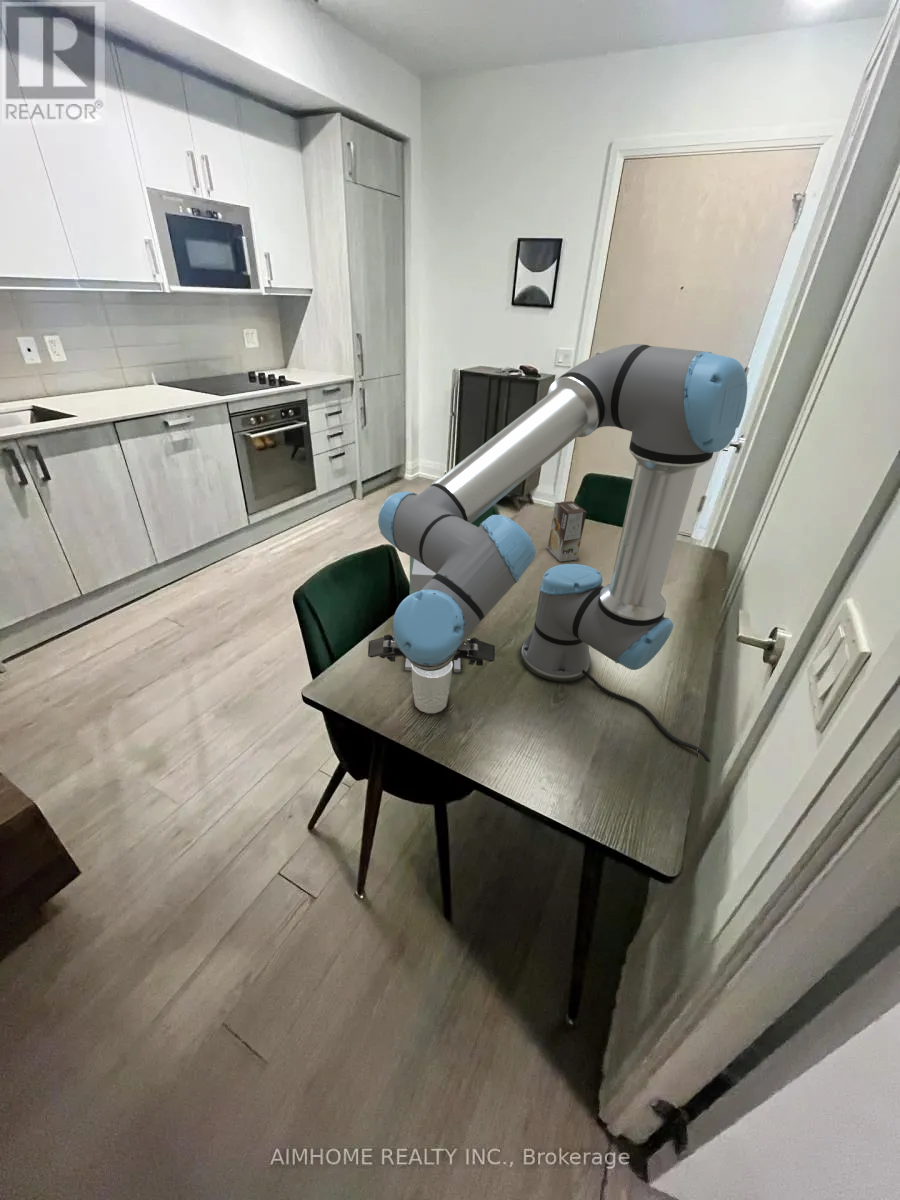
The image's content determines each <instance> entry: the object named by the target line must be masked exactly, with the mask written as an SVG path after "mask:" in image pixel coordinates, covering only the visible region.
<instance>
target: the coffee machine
mask: <svg viewBox="0 0 900 1200" xmlns="http://www.w3.org/2000/svg"><path fill="white" fill-rule="evenodd" d="M435 574H436V573H435V572H433V571H432V570H430V569H429V568H427V567H426V566H425V565H424V564H422V563H420V562H419V561H417V560H416V559H414V558H412V557H411V556H409V595H411V594H412V593H415V592H418V591H421V590H422V589H423V588H424V587H425V586H426V584H427V583H428V582H429V581H430V580H431V579H432V578H433V577H434V576H435ZM404 671H411V672H412V669H411V662H410V661H409V660H408V659H407V658H405V665H404ZM453 673H461V659H460V658H458V660H453Z"/></svg>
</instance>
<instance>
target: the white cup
mask: <svg viewBox="0 0 900 1200" xmlns="http://www.w3.org/2000/svg"><path fill="white" fill-rule="evenodd" d="M453 668H454V662H453V660H452V661H451V662H450V663H449V664H448V665H447V666H445V667H444V668H442V669H439V670H436V671H425V670H421V669H419V668H417V667H415V666H414V665H413V664H412V663H411V669H412V670H411V683H412V695H413V703H414V706H415V707H416V708H417V710H419V711H420V712H422V713H425V714H436V713H439V712H442V711H443V710H444V709H445V708H446V707H447V705H448V701H449V695H450V688H451V682H452V674H453Z"/></svg>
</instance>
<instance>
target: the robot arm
mask: <svg viewBox="0 0 900 1200" xmlns="http://www.w3.org/2000/svg"><path fill="white" fill-rule="evenodd" d="M747 378H748V377H747V375H746V371H745V368H744V366H743V365H742V363H740V361H738V360H737V359H735V358H734V357H731V356H726V355H720V354H716V353H713V352H712V351H703V350H694V349H692V350H691V349H685V348H673V347H665V346H655V345H649V344H642V343H632V344H624V345H620V346H616V347H613V348H610V349H608V350H605V351H602V352H599V353H598V354H595V355H593V356H591V357H589V358H587V359H586V360H584V361H582V362H580V363H578V364H577V365H575V366H573V367H571V369H569V370H568V371H566V372H565V373H564V374H562V375H560V376H559V377H558V378H556V379H555V380H554V381H553V382H552V383H551V384H550V386H549V388H548V391H547V395H546V396H544V397H543V398H542V399H541V400H539V401H538V402H536V403H535V404H534V405H532V406H531V407H530V408H528V409H527V410H526V411H525V412H524V413H522V414H521V415H520V416H518V417H517V418H515V420H513V421H512V422H510V423H509V424H508V425H507V426H505V427H504V428H503V429H501V430H500V431H499V432H498V433H496V434H495V435H494V436H493V437H491V438H490V439H489V440H487V441H486V442H485V443H483V444H482V445H481V446H480V447H479V448H476V450H474V451H473V452H472V453H471V454H469V455H468V456H466V458H464V459H462V460H461V461H460V462H459V463H458V464H456V465H455V466H454V467H452V468H451V469H450V470H448V471H447V472H446V473H445V474H444V475H442V476H441V477H439V478H438V479H437V480H435V481H434V482H433V483H432V484H431V485H429V486H428V487H427V488H425V489H424V490H422V491H421V492H420V493H418V494H417V493H415V492H410V491H399V492H395V493H393V494H391V495H390V496H389V497H387V498H386V500H384V502H383V504H382V505H381V508H380V510H379V512H378V519H377V523H378V529H379V531H380V534H381V535H382V536H383V538H384V539H385V540H386V541H388V543H390V544H391V545H392V546H394V548H396V549H397V550H398V551H399V552H400V553H402V554H403V553H404V554H406V555H407V556H409V557H410V556H411V557H412V558H414V559H416V560H417V561H419V562H420V563H422V564H424V565H425V566H426V567H427V568H429V569H430V570H432V571H433V572H435V573H436V574H435V576H434V577H433V578H432V579H431V580H430V581H429V582H428V583H427V584H426V586H425V587H424V588H423V589H422V590H421V591H418V592H415V593H412V594H411V595H410V594H409V595H407V596H406V597H405V598H404V599H403V600H401V602H400V603H399V604H398V607H397V608H396V610H395V612H394V615H393V620H392V633H393V635H391V634H384V635H383V636H381V637H379V638H375V639H371V640H368V645H367V647H368V648H367V657H369V658H376V657H379V658H381V659H387V660H389V662H392V663H395V662H396V658H397V657H403V658H404V659H406V658H407V659H408V660H409V661H410V662H411V663H412V664H413V665H414V666H415V667H417V668H419V669H421V670H425V671H436V670H439V669H442V668H444V667H445V666H447V665H448V664H449V663H450V662H451V661H452V662H453V661H454V660H458V658H460V660H467V661H468V665H470V666H473V665H474V664H475V666H476V667H477V666H479V667H482V666H484V661H486V662H489V663H493V662H495V661H496V659H495V658H496V645H493V644H491V643H487V642H485V641H482V640H480V639H479V638H476V637H471V638H469V639H468V637H469V636H470V635H471V634H472V633H473V632H474V630H476V628H477V627H478V626H479V625H480V623H481V621H482V620H484V618H485V617H486V616H487V615H488V614H489V613H490V612H491V611H492V610H493V608H494V607H496V605H497V604H498V603H499V602H500V601H501V600H502V599H503V598H504V596H505V595H506V594H507V593H508V592H509V591H510V590H511V588H513V586H514V585H516V584H517V583H518V582H519V581H520V578H521V576H523V574H524V573H525V572H526V570H528V568H529V566H531V564H532V563H533V561H534V559H535V558H536V553H537V552H536V547H535V545H534V542H533V540H532V538H531V536H530V535H529V534H528V533H527V532H526V530H525V529H524V528H523V527H522V526H521V525H520V524H518V523H517V522H516V521H515V520H513V519H512V518H510V517H508V516H506V515H503V514H492V515H490V516H489V517H487V518H486V519H484V520H483V521H481V523H480V524H479V526H477V525H475V524H473V523H474V522H475V521H476V520H478V519H479V518H480V517H481V516H482V515H484V513H486V512H487V511H489V510H490V509H491V508H492V507H493V506H495V504H497V503H498V502H499V501H500V500H502V499H504V497H505V496H507V495H508V494H509V493H510V492H512V491H513V490H514V489H515V488H517V486H519V485H520V484H521V483H522V482H523V481H525V480H526V479H527V478H528V477H530V476H531V475H532V474H533V473H534V472H536V471H537V470H538V469H539V468H540V467H542V466H543V465H545V463H547V462H548V461H550V460H551V458H553V457H554V456H555V455H556V454H558V453H559V452H560V451H561V450H563V449H564V448H565V447H567V445H569V444H570V443H572V441H574V440H576V438H584V437H588V436H591V434H593V433H594V432H595V431H596V430H597V429H601V428H604V427H613V428H614V427H615V428H619V429H621V430H625V431H629V432H631V435H630V436H631V437H630V441H629V447H628V451H629V452H630V454H631V455H632V457H633V458H634V459H635V460H636V462H635V463H636V464H635V468H634V473H633V476H632V477H633V478H632V482H631V487H630V492H629V496H628V501H627V505H626V511H625V515H624V519H623V524H622V528H621V533H620V538H619V543H618V547H617V552H616V556H615V561H614V566H613V571H612V576H611V580H610V583H608V584H606V585H604V586H603V585H602V584H603V582H604V581H603V575H602V574H601V572H600V571H599V570H598V569H596V568H594V567H592V566H589V565H585V564H579V563H562V564H557V565H554V566H552V567H550V568H548V569H547V570H546V571H545V572H544V575H543V576H542V581H541V584H540V586H539V594H538V600H537V607H536V613H535V617H534V618H535V619H534V624H533V627H532V628H531V631H530V632H529V634H528V635H527V636H526V638H525V640H524V641H523V644H522V646H521V652H520V658H521V661H522V663H523V665H524V666H525V667H526V668H527V670H528V671H530V672H531V673H532V674H534V675H535V676H537V677H540V678H542V679H544V680H548V681H552V682H556V683H557V682H559V683H567V682H574V681H577V680H579V679H581V678H582V677H584V676H585V677H587V679H589V681H591V682H592V683H593V684H594V685H595V686H596V687H597V688H598V689H599V690H600V691H602V692H604V693H605V694H607V695H608V696H612V697H614V698H616V699H619V700H622V701H624V702H626V703H629V704H632V705H633V706H636V707H637V708H638V709H640V710H642V711H643V712H644V713H645V714H646V715H647V716H648V717H649V718H650V720H652V722H653V723H654V724H655V725H656V726H657V728H658V729H659V730H660V731H661V732H662V733H663V734H664V735H665V736H666V737H667V738H669V739H670V740H671V741H672V742H674V743H676V744H679V745H681V746H684V747H686V748H689V749H692V750H693V751H696V752H697V753H699V754H700V755H701V756H702V758H703V759H704V760H705V761H706V762H707V763H711V760H710V758H709V756H708V754H706V752H705V751H704V750H703V749H702V748H700V747H698V746H697V745H695V744H692V743H688V742H686V741H683V740H681V739H679V738H677V737H675V736H674V735H672V734H671V733H670V731H668V730H666V728H665V727H663V725H662V724H661V722H660V721H659V720H658V719H657V718H656V717H655V715H653V713H652V712H651V711H650V710H649V709H647V708H646V707H645V706H644V705H643V704H641V703H639V702H637V701H636V700H634V699H631V698H629V697H626V696H623V695H620V694H617V693H615V692H612V691H610V690H609V689H607V688H605V687H603V686H602V685H601V684H600V683H599V682H598V681H597V680H596V679H595V678H594V677H593V676H592V675H591V674H590V673H589V672H588V670H589V667H590V664H591V655H590V647H591V648H593V649H594V650H595V651H597V652H599V653H600V654H602V655H603V656H605V657H606V658H608V659H610V660H612V661H613V662H614V663H615V664H618V665H621V666H623V667H625V668H627V669H628V670H631V671H638V670H641V669H642V668H643V667H645V666H646V665H647V664H649V663H650V662H651V661H652V660H653V659H654V658H655V656H657V655H658V653H660V651H661V649H662V648H663V647H664V646H665V644H666V643H667V641H668V639H669V638H670V636H671V633H672V631H673V629H674V623H673V621H672V620H671V619H670V618H669V617H665V616H664V615H665V612H666V610H667V609H666V608H667V602H666V600H665V597H664V596H663V595H662V594H661V593H662V590H663V586H664V583H665V579H666V576H667V573H668V569H669V566H670V562H671V559H672V556H673V552H674V548H675V546H676V542H677V538H678V535H679V532H680V528H681V525H682V522H683V518H684V515H685V511H686V508H687V505H688V501H689V498H690V494H691V491H692V488H693V484H694V480H695V478H696V474H697V470H698V468H701V467H702V466H703V465H706V464H707V463H709V462H710V461H711V460H712V458H713V455H714V453H718V452H721V451H722V450H724V449H725V448H727V446H728V445H729V444H730V443H731V442H732V440H733V439H734V437H735V435H736V430H737V429H738V428H739V427H740V424H741V422H742V419H743V416H744V414H745V408H746V404H747V398H748V379H747ZM465 641H466V642H465ZM697 749H698V751H697Z"/></svg>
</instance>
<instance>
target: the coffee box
mask: <svg viewBox="0 0 900 1200" xmlns="http://www.w3.org/2000/svg"><path fill="white" fill-rule="evenodd" d="M587 513H588V512H587V511H586V510H585V509H584V508H582V507H581V506H579V504H577V503H575V502H574V501H572V500H568V501H561V502H555V503H554V508H553V513H552V518H551V525H550V532H549V537H548V544H547V550H548V551H549V553H551V555H552V556H553V557H554V558H556V560H557V561H559V562H567V561H568V562H571V561H577V559H578V557H579V556H578V555H579V550H580V546H581V542H582V536H583V531H584V527H585V522H586V517H587Z"/></svg>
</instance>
